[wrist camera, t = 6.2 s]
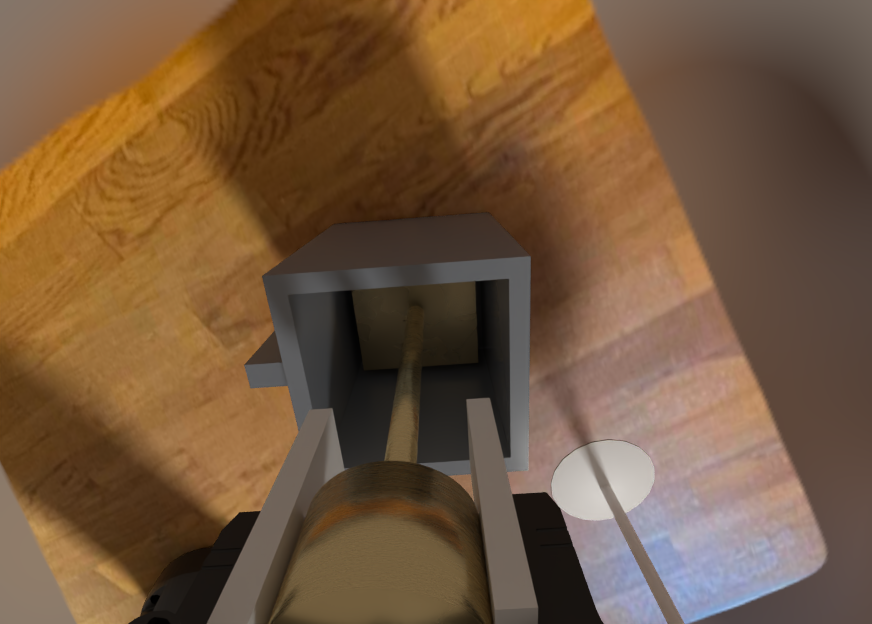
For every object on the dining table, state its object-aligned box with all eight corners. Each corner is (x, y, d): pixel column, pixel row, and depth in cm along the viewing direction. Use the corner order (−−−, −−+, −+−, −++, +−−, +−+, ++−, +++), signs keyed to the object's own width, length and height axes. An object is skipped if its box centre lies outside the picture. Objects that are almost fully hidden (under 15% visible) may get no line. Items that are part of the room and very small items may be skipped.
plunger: (365, 364, 26) (235, 780, 9) (349, 255, 24) (118, 540, 6) (477, 356, 26) (566, 763, 9) (472, 246, 24) (586, 510, 6)
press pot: (323, 363, 30) (259, 487, 19) (297, 226, 26) (198, 280, 15) (492, 351, 30) (528, 470, 19) (488, 212, 26) (530, 256, 15)
